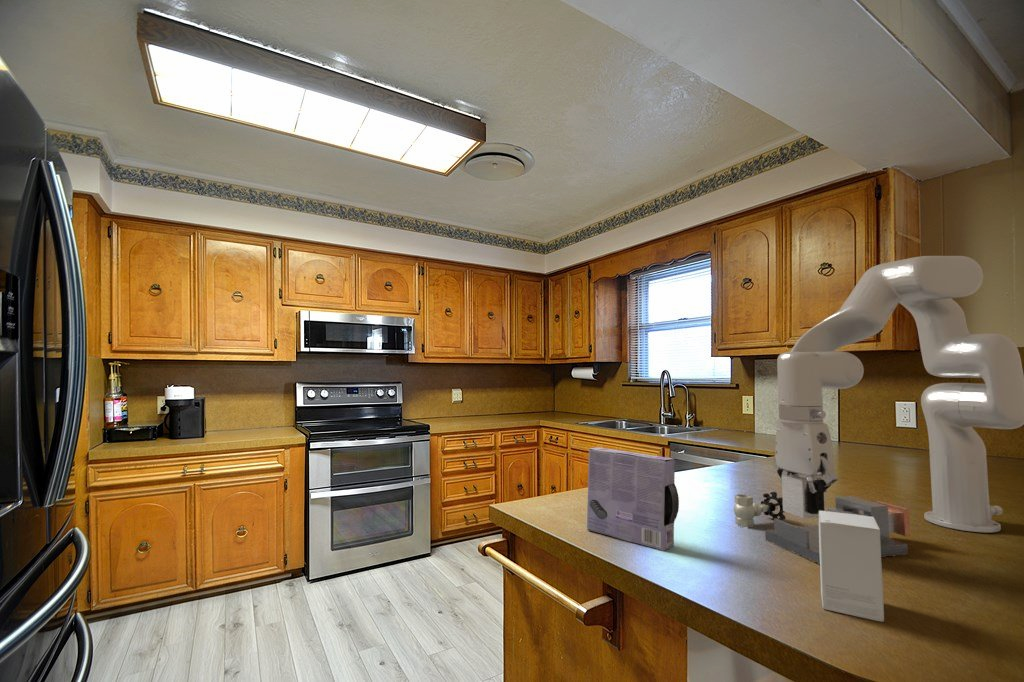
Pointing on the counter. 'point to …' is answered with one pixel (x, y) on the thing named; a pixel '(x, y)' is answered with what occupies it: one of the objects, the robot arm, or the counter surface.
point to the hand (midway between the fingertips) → (803, 508)
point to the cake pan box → (632, 497)
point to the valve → (756, 508)
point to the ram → (896, 517)
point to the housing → (797, 495)
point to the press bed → (808, 536)
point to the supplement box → (851, 565)
